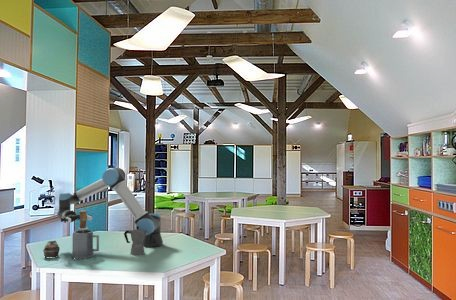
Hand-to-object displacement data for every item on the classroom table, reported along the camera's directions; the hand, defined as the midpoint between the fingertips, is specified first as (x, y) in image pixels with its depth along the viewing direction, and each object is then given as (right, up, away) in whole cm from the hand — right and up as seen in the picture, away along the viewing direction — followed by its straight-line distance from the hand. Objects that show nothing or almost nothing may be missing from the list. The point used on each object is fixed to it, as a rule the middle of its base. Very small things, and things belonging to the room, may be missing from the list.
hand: (81, 219), depth 252 cm
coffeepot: (+35, -24, +5) cm, 42 cm away
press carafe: (+3, -24, -3) cm, 24 cm away
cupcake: (-18, -24, -3) cm, 30 cm away
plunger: (+2, -17, -2) cm, 18 cm away
